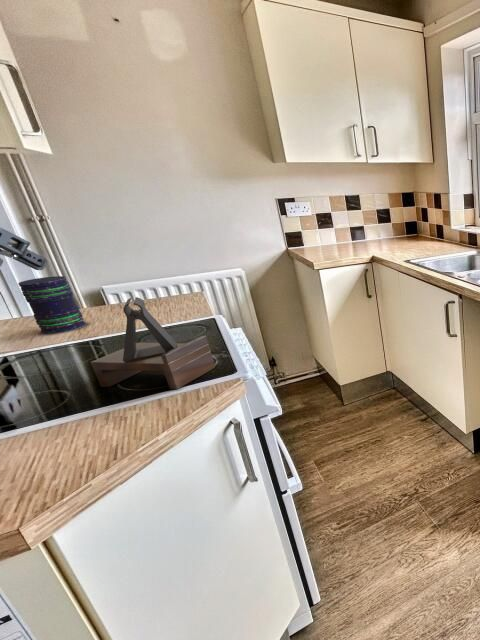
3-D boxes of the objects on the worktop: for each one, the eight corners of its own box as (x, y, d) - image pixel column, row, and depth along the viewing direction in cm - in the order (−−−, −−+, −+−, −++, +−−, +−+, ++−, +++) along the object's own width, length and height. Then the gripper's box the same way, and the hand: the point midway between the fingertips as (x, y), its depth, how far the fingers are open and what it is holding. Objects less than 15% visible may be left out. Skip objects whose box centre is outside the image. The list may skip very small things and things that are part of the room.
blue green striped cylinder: (42, 328, 129) (20, 280, 123) (86, 320, 135) (67, 274, 129) (39, 336, 122) (15, 286, 116) (85, 328, 128) (64, 279, 122)
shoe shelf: (101, 387, 91) (86, 353, 88) (146, 365, 101) (134, 334, 98) (177, 389, 89) (165, 355, 86) (215, 367, 100) (205, 335, 97)
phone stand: (123, 362, 88) (101, 307, 84) (126, 353, 93) (105, 301, 88) (176, 351, 93) (158, 299, 89) (176, 343, 98) (159, 293, 93)
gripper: (-55, 176, 57) (69, 247, 72) (-145, 177, 59) (-4, 247, 73) (-89, 221, 54) (48, 285, 69) (-182, 221, 56) (-28, 284, 71)
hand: (21, 265), depth 71 cm, fingers open, 8 cm apart
